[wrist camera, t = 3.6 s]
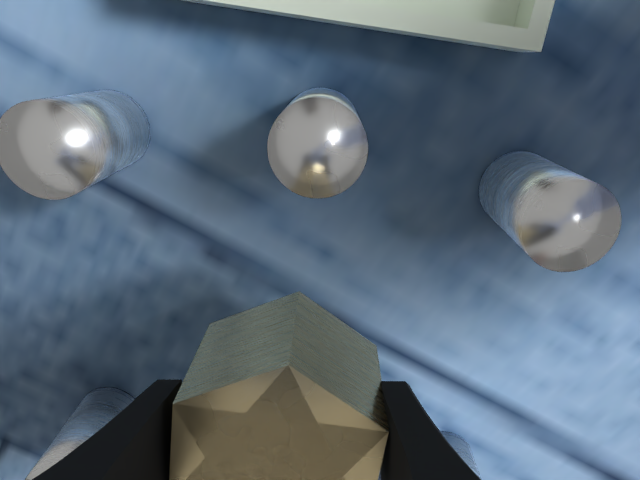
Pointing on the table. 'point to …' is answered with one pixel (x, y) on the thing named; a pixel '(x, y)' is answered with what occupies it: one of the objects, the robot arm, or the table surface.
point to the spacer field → (301, 178)
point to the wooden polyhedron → (280, 399)
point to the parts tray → (424, 18)
